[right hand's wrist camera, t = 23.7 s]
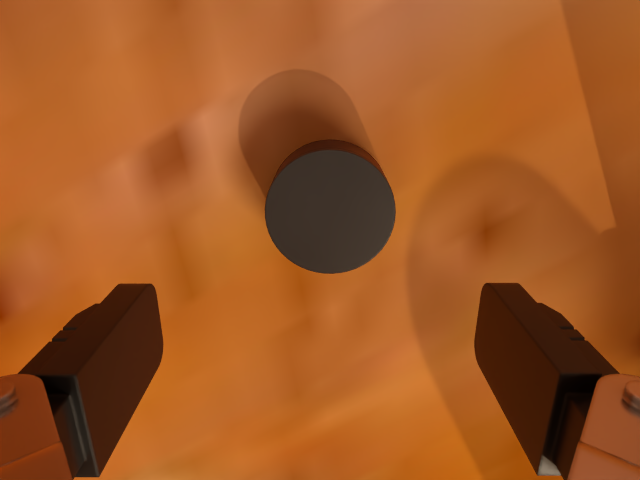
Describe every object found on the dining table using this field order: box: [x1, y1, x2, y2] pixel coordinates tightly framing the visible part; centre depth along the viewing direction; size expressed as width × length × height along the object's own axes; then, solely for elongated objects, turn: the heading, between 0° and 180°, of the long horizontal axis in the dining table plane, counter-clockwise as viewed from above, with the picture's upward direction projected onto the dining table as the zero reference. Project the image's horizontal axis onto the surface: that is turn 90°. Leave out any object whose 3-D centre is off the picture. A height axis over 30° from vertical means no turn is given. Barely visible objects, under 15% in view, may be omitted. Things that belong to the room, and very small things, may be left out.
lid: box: [265, 140, 396, 274], centre depth 19 cm, size 5×5×2 cm
